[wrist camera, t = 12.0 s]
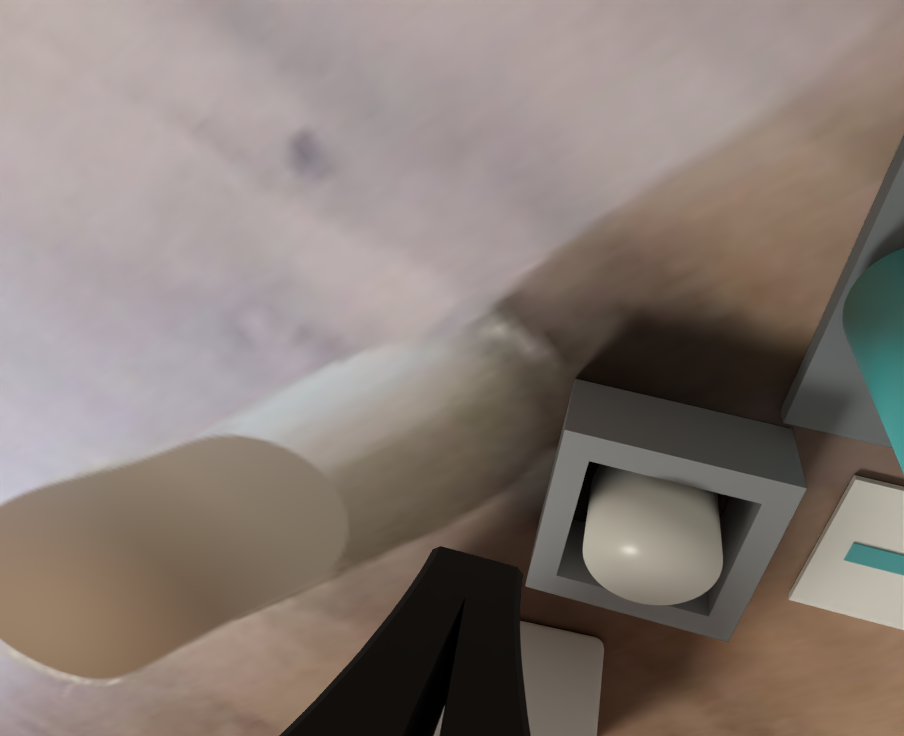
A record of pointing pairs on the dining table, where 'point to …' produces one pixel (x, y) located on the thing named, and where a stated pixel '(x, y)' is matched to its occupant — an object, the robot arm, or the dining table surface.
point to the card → (859, 556)
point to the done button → (651, 537)
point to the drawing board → (829, 354)
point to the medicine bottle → (559, 681)
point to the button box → (681, 461)
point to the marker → (880, 340)
